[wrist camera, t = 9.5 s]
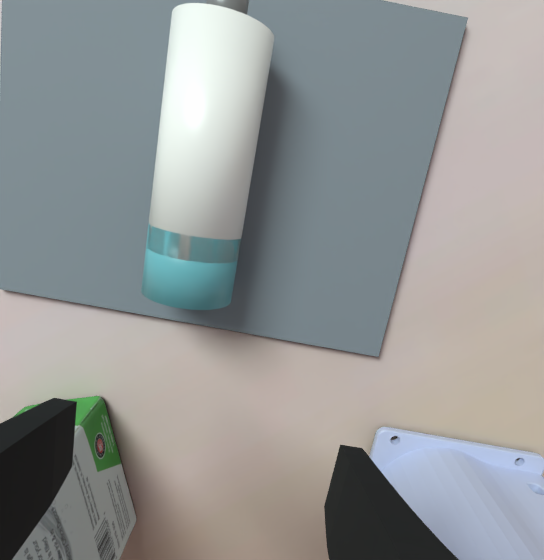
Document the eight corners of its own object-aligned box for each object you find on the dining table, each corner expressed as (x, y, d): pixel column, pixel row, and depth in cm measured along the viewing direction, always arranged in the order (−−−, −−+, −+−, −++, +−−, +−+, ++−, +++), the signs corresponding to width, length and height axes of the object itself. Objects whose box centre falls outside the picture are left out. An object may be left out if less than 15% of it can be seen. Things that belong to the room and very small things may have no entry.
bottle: (278, 22, 17) (282, -25, 13) (234, 290, 20) (226, 316, 16) (187, 3, 17) (164, -51, 13) (155, 277, 20) (128, 299, 16)
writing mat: (463, 21, 17) (468, 17, 17) (376, 353, 21) (378, 356, 21) (10, -70, 17) (4, -76, 17) (0, 286, 20) (-5, 288, 20)
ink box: (21, 403, 22) (-263, 640, 10) (107, 393, 22) (-87, 624, 10) (60, 531, 24) (-142, 850, 12) (139, 523, 24) (7, 841, 12)
